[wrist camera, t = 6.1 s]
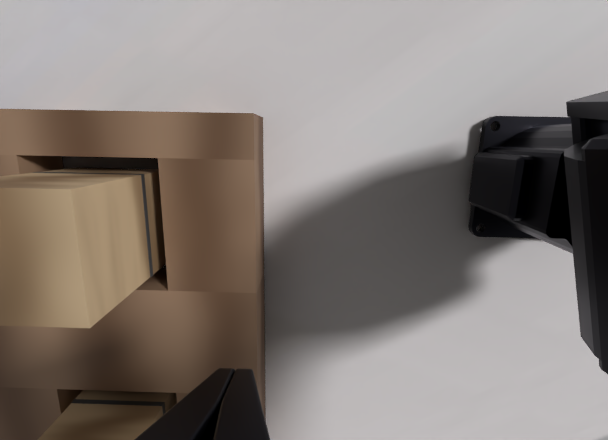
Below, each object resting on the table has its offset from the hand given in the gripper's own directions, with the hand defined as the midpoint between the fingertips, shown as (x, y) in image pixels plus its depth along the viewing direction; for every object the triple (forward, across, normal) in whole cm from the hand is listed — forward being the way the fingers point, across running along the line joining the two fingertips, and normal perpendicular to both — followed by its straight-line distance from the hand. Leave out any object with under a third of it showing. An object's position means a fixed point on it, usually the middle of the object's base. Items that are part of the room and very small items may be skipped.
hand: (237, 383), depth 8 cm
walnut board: (+12, +9, +5) cm, 16 cm away
